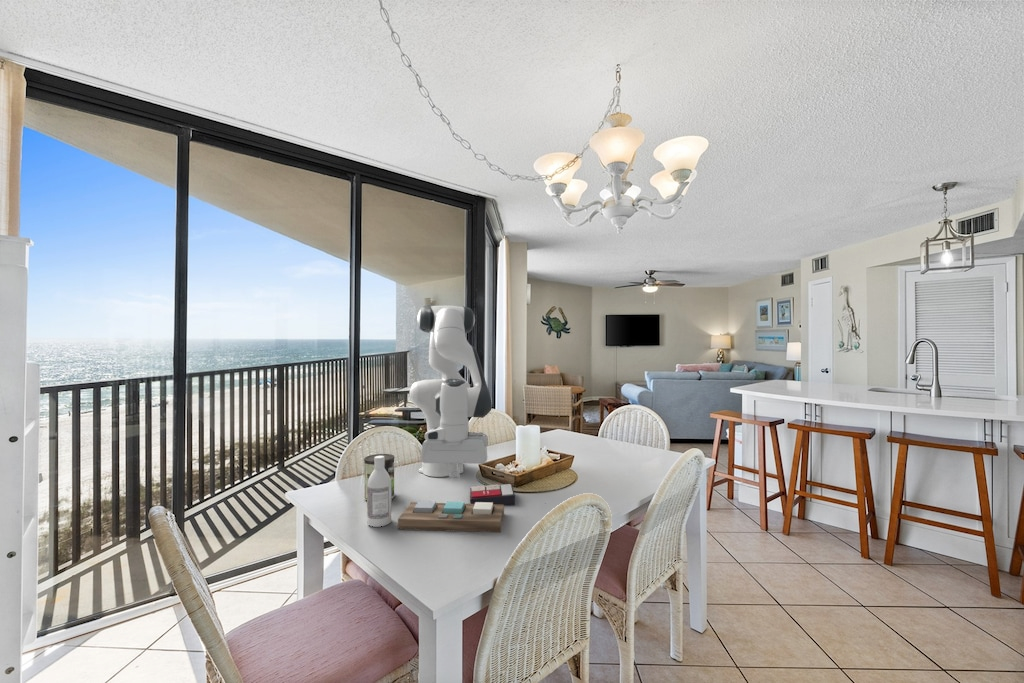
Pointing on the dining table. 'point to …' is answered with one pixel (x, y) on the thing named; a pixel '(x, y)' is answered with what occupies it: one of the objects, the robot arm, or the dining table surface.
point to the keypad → (452, 519)
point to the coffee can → (370, 468)
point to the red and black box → (493, 494)
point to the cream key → (483, 508)
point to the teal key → (454, 508)
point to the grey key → (425, 507)
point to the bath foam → (379, 495)
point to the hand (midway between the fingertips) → (454, 477)
